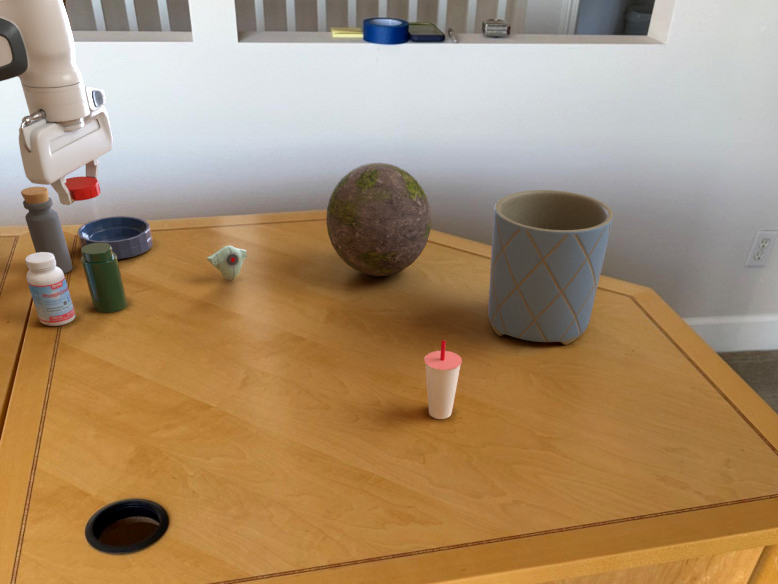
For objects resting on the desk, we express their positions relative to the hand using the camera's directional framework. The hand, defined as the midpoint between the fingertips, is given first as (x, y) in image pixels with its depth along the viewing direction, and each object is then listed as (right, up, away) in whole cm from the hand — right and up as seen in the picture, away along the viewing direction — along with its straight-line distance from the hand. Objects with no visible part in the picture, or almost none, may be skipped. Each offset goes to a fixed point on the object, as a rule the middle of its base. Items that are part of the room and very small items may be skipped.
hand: (81, 195), depth 128 cm
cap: (0, +1, -1) cm, 2 cm away
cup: (+59, -38, -12) cm, 71 cm away
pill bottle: (-8, -18, +9) cm, 22 cm away
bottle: (-15, -4, +25) cm, 29 cm away
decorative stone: (+49, -4, +26) cm, 55 cm away
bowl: (-6, +3, +33) cm, 33 cm away
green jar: (0, -14, +13) cm, 19 cm away
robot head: (+20, -7, +22) cm, 31 cm away
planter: (+78, -19, +10) cm, 80 cm away
